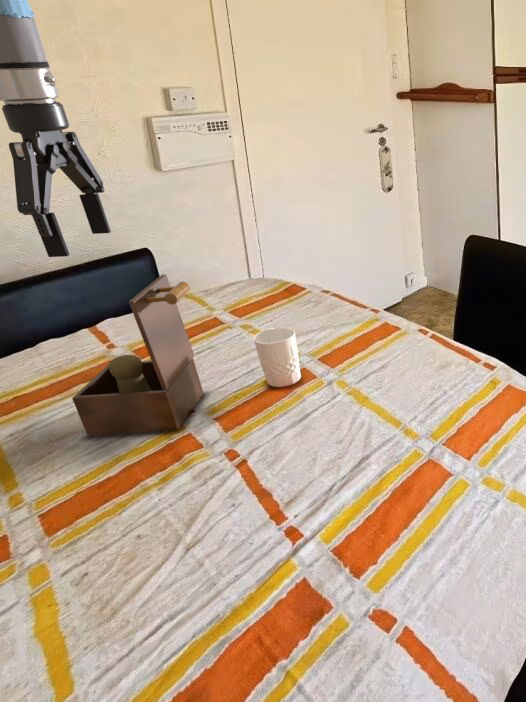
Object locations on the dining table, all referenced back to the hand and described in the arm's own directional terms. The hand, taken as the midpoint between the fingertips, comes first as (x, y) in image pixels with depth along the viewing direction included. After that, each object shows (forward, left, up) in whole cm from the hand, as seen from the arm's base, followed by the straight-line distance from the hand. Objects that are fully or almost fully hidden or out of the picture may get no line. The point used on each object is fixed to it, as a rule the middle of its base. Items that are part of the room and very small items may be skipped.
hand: (81, 244), depth 102 cm
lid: (+8, +2, -16) cm, 18 cm away
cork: (0, 0, -32) cm, 32 cm away
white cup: (+21, +15, -33) cm, 42 cm away
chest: (+1, 0, -32) cm, 33 cm away
